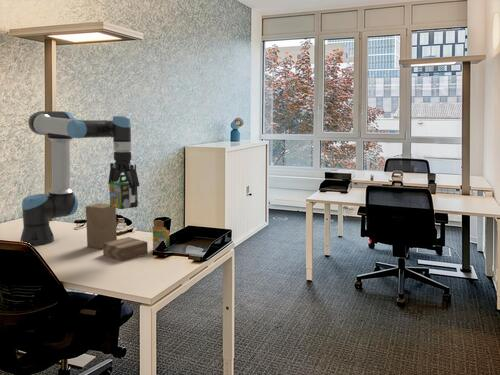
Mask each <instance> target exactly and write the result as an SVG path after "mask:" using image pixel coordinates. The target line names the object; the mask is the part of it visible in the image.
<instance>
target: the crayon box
mask: <svg viewBox="0 0 500 375" xmlns="http://www.w3.org/2000/svg"><path fill="white" fill-rule="evenodd" d="M162 241H164V243H165V245H166V247H169V248H170V230H168V229H167V227H163V226H152V249H153V251H155V250H154V249H156V248H157V247H158V246H159V244H160V243H161V242H162Z"/></svg>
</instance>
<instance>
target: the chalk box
mask: <svg viewBox="0 0 500 375" xmlns="http://www.w3.org/2000/svg"><path fill="white" fill-rule="evenodd" d="M123 178H125V179H123ZM132 185H133V184H132ZM129 188H130V185H129V182H128V180H127V177H126V175H125V174H121V175H120V178H119V180H118V181H114V182H109V184H108V189H109V204H110V207H113V208H116V209H118V210H125V209H133V208H137V207H139V201H138V187H136V195H135V202H133V203H129Z"/></svg>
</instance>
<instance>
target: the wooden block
mask: <svg viewBox="0 0 500 375" xmlns="http://www.w3.org/2000/svg"><path fill="white" fill-rule="evenodd" d="M85 219H86V242H87V243H86V246H87V248H92V249H93V248H94V249H100V250H103V243H105V242H109V241H113V240H118V237H117V234H118V233H117V208H113V207H110V203H104V202H103V203H102V202H100V203H95V204H94V203H93V204H89V205H86V206H85Z"/></svg>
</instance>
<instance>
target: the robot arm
mask: <svg viewBox="0 0 500 375" xmlns="http://www.w3.org/2000/svg"><path fill="white" fill-rule="evenodd" d="M76 118H77V117H75V116H74V114H73V113H71V112H69V111H63V110H59V111H58V110H57V111H54V110H53V111H49V110H48V111H46V110H39V111H37V112H34V113H32V114H31V115H30V117H29V119H28V122H27V124H28V127H29V130H31V132H33V133H34V134H37V135H41V136H47V139H48V140H49V141H50V143H51V144H50V146H51V147H50V148H51V150H50V151H51V153H50V154H51V189H49V190H48V194H46V193H36V194H31V195H27V196H26V197H24V198H23V199H22V202H21V210H22V222H23V229H22V233H21V235H20V242H21V241H23V242H27V243H30V244H31V245H30V246H40V245H41V246H42V245H47V244H50V243H52V242H53V241H54V240H55V237H54V233H53V231H52V229H51V226H50V220H51V219H57V218H61V217H62V218H63V217H64V218H65V217H68V216H72V215H74V214H75V213H76V212H77V210H78V207H79V199H78V197H77V195H76V193H74V190H73V189H72V188H71V170H70V169H71V168H70V167H71V166H70V165H71V162H70V161H71V159H70V156H71V155H70V153H71V152H70V150H71V149H70V146H71V144H70V142H71V141H72V140H74V139H87V138H89V139H90V138H91V139H92V138H94V139H95V138H113V140H112V141H113V151H114V152H113V160H114V161H115V162H110V163H109V168H110V169H109V174H108V175H109V176H108V181H107V184H108V185H109V182H114V181H119V178H120V175H122V174H123V175H126V177H127V180H128V182H129V185H130V188H129V203H133V202H135V195H136V187H137V188H138V187H140V183H139V182H140V181H139V177H138V173H137V164H135V163H134V164H133V163H132V162H131V160H132V152H131V151H132V129H131V127H132V124H131V118H130V116H128V115H126V116H125V115H114V116H113V117H112V120H106V119H101V120H99V119H96V120H94V119H93V120H92V119H91V120H84V119H76ZM126 177H125V178H126ZM132 184H133V185H132Z"/></svg>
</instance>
